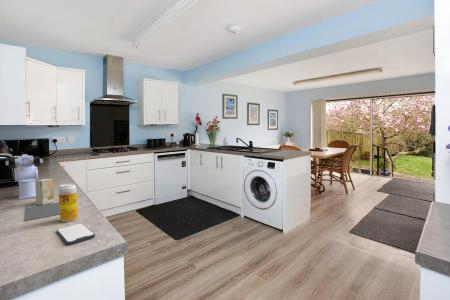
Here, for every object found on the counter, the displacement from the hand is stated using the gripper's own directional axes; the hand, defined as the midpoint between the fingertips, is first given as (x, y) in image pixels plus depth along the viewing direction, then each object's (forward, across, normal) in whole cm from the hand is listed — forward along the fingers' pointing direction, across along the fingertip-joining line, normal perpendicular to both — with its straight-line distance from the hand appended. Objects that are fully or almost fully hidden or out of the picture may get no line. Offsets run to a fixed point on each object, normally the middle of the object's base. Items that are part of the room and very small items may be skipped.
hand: (24, 162), depth 114 cm
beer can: (+34, +14, +24) cm, 44 cm away
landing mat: (+14, +7, +23) cm, 28 cm away
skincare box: (+1, +7, +22) cm, 23 cm away
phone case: (+52, +14, +26) cm, 59 cm away
